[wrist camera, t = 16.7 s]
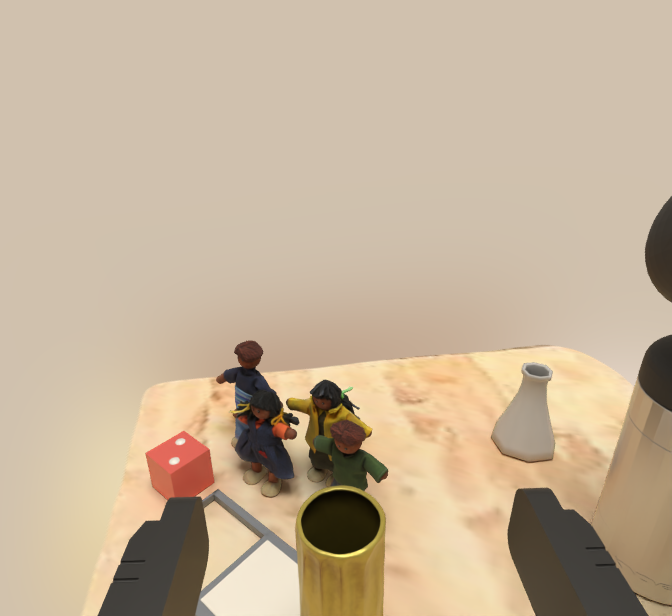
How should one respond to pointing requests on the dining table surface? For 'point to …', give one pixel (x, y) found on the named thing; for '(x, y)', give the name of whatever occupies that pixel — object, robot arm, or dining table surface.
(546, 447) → the flask
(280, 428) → the doll family
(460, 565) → the dining table surface
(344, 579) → the vase
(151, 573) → the robot arm
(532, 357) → the dining table surface
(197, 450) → the red die
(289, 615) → the game board
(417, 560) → the dining table surface
